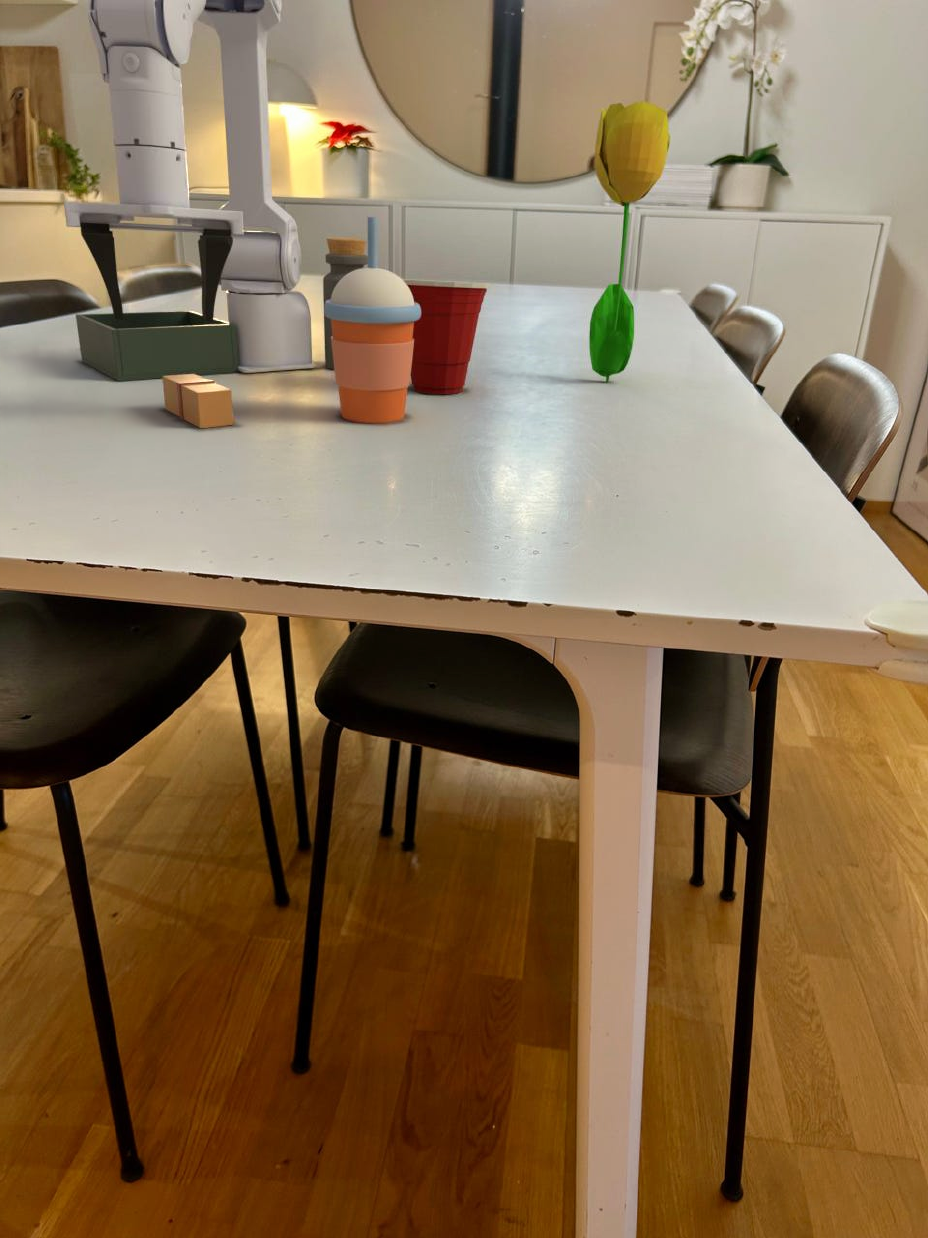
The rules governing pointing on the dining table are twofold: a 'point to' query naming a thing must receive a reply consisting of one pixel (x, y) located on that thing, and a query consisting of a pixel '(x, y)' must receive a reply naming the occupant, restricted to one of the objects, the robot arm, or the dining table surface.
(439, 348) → the plastic cup
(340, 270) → the bottle
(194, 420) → the grooved wooden block
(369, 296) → the cup with straw
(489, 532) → the dining table surface
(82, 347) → the bin
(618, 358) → the flower
